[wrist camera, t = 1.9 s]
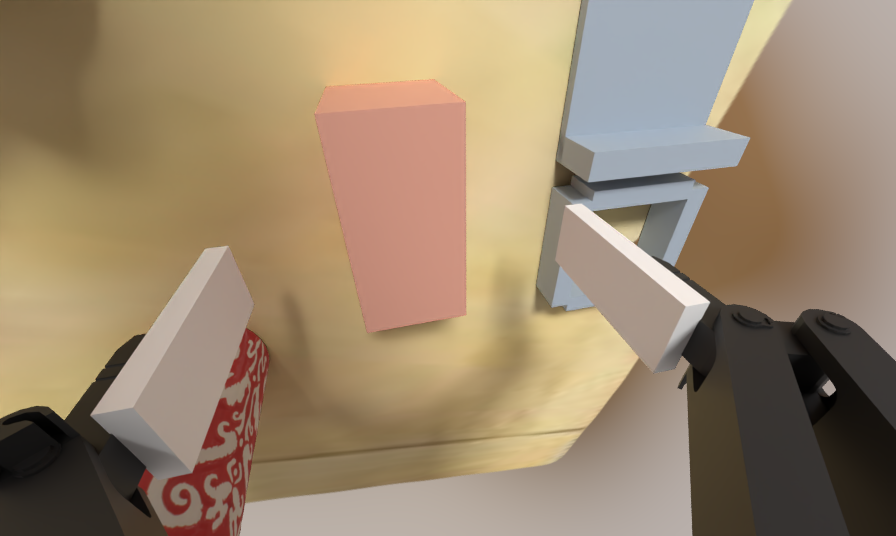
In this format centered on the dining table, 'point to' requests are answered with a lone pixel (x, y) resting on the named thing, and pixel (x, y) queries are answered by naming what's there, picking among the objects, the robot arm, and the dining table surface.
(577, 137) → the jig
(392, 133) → the tall salmon pink prism
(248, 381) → the mug
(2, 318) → the dining table surface
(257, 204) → the dining table surface
